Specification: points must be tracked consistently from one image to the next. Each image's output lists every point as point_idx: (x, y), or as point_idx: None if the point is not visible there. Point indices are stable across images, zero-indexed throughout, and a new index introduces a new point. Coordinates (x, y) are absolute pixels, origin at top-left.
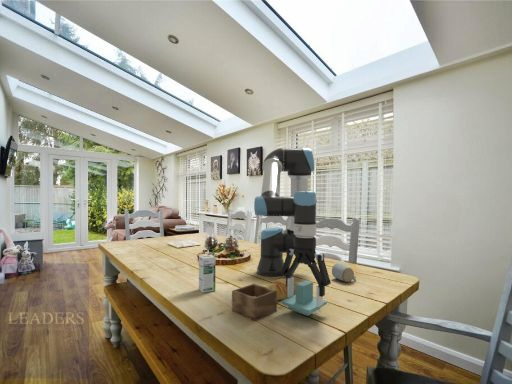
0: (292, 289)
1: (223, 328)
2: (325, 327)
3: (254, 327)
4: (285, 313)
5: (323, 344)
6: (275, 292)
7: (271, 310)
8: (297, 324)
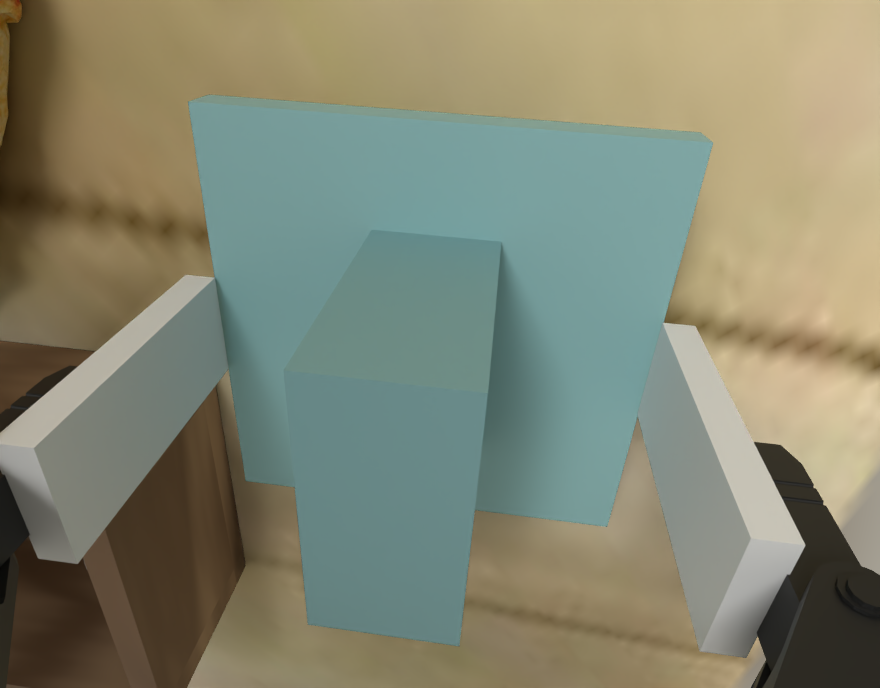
0: (173, 351)
1: (206, 680)
2: (737, 392)
3: None
4: None
5: None
6: None
7: (211, 439)
8: None
